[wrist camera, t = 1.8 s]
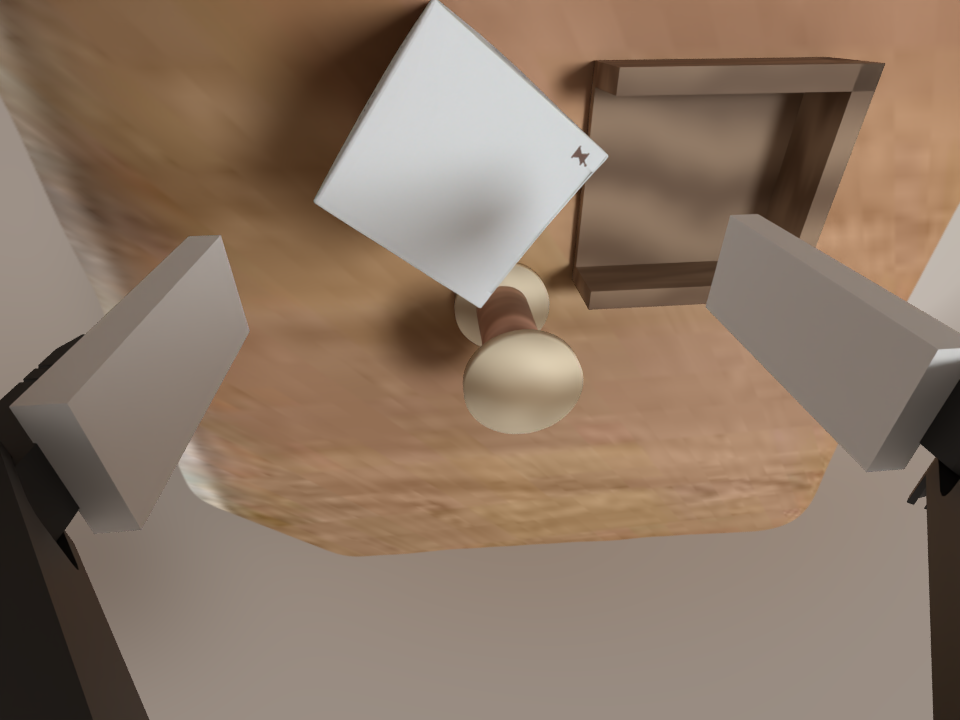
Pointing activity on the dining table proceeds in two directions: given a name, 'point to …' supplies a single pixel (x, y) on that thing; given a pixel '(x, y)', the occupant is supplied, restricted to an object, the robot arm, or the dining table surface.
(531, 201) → the supplement box
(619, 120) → the open wooden tray
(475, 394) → the bobbin post
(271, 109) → the dining table surface
